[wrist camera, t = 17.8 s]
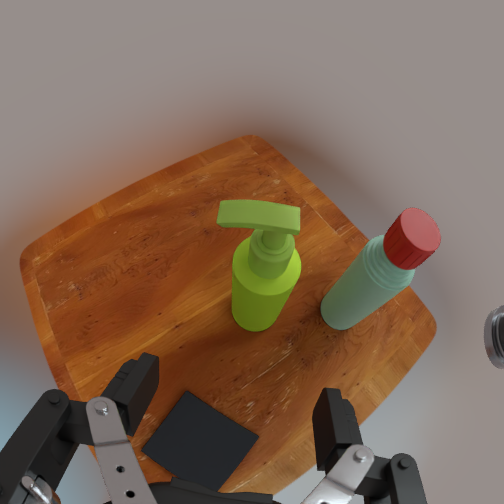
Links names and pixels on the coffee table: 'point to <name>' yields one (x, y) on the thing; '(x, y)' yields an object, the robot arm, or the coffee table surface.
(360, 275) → the bottle
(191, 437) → the mat
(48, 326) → the coffee table surface
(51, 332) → the coffee table surface
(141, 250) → the coffee table surface
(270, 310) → the soap dispenser
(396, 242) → the cap
